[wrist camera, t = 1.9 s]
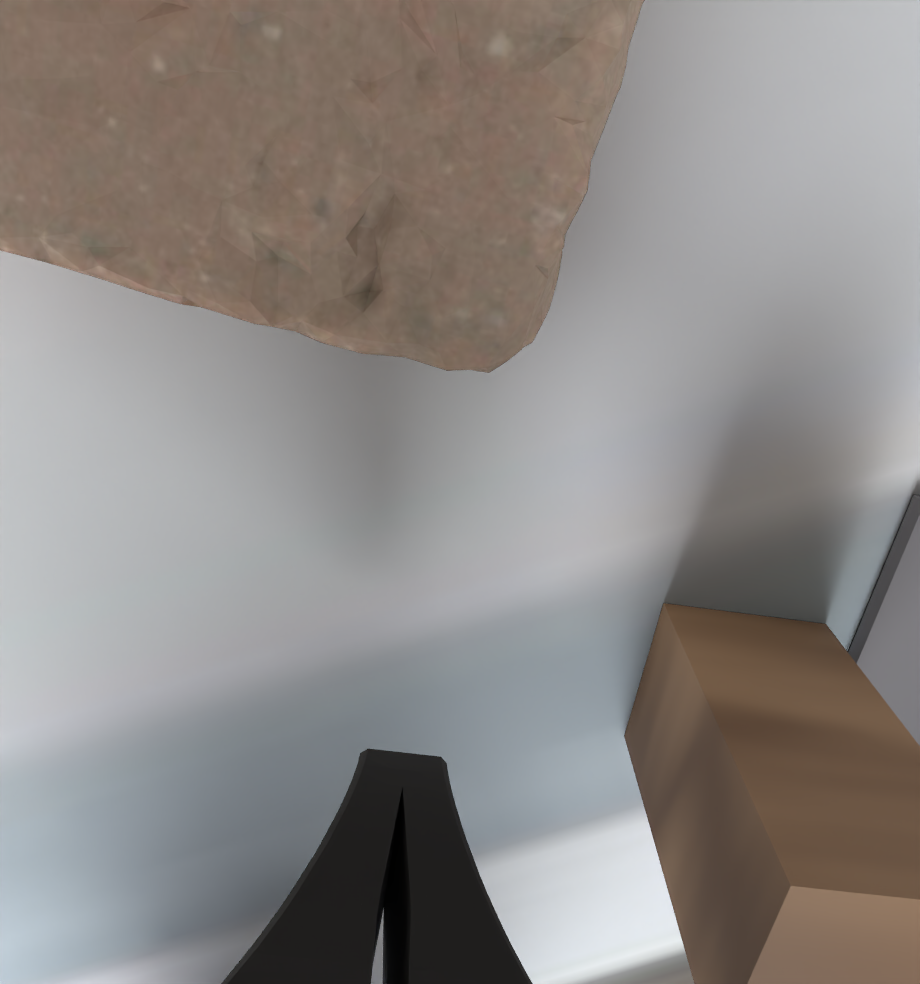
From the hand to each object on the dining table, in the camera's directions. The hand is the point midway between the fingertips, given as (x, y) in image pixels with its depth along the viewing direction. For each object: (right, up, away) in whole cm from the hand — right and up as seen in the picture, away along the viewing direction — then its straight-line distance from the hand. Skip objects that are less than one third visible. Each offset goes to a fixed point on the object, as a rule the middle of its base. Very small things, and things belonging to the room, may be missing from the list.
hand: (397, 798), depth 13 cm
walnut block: (+7, +1, +5) cm, 8 cm away
